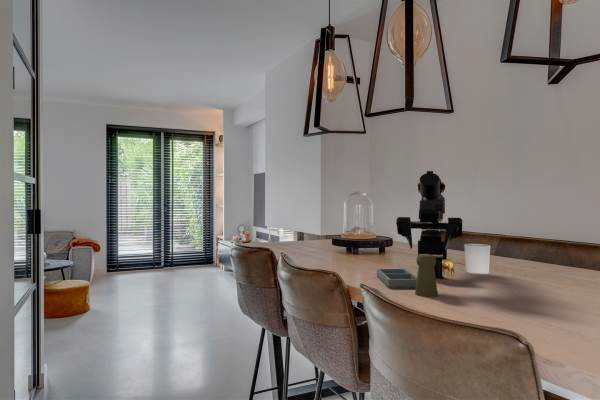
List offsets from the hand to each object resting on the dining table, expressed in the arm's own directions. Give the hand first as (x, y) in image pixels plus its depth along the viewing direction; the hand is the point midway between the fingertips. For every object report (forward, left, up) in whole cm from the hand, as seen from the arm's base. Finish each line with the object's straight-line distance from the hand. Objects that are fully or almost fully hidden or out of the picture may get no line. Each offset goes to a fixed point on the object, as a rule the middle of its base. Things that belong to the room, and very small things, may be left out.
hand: (427, 248), depth 120 cm
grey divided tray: (+6, -12, -12) cm, 18 cm away
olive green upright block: (+2, +5, -12) cm, 13 cm away
